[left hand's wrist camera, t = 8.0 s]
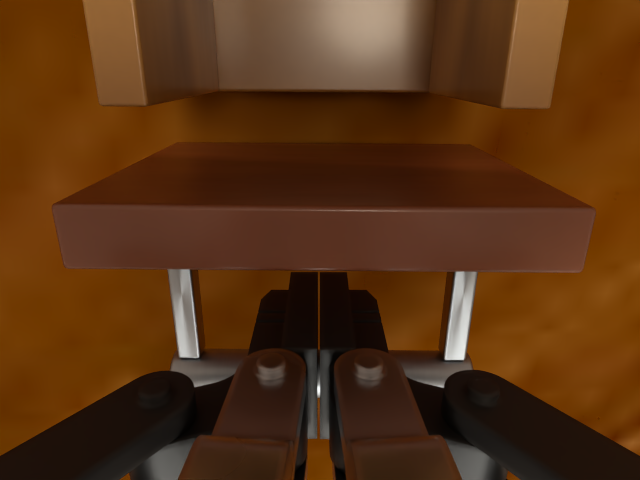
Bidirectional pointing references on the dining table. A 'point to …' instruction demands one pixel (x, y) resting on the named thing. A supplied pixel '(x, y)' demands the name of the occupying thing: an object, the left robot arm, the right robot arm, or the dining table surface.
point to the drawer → (324, 156)
